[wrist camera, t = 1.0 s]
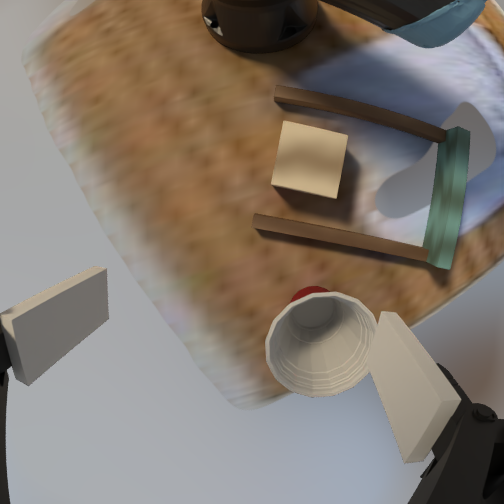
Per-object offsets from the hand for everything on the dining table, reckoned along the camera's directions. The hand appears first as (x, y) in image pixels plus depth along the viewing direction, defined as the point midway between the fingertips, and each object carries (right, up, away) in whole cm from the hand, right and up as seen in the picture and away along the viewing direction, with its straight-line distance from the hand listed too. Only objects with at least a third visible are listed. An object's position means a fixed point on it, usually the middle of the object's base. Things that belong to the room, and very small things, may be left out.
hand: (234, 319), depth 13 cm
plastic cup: (+8, -4, +24) cm, 26 cm away
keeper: (+7, +14, +21) cm, 26 cm away
